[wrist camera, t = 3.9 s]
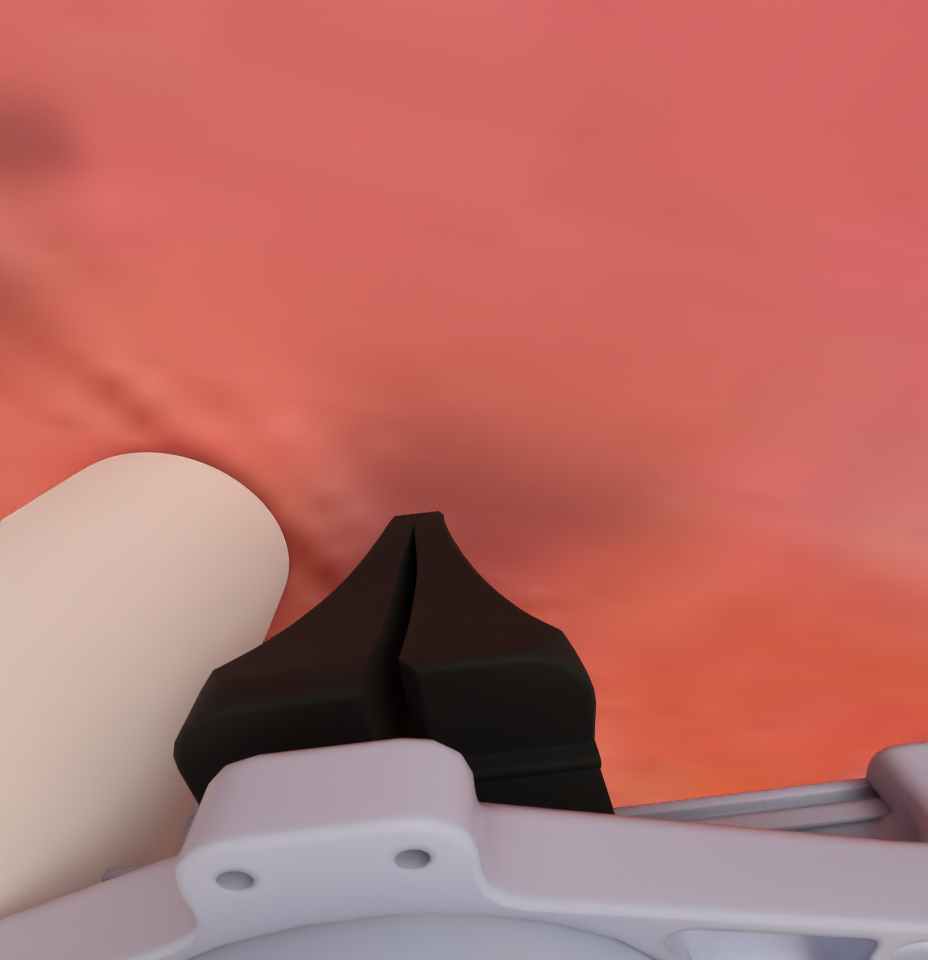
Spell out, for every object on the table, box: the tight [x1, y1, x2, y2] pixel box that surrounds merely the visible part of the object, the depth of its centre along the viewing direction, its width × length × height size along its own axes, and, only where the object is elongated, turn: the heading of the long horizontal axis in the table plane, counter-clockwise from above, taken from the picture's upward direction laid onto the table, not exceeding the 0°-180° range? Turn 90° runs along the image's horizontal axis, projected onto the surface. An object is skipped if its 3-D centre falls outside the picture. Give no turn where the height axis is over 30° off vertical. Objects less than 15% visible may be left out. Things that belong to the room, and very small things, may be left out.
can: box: [0, 452, 289, 919], centre depth 9 cm, size 6×6×12 cm
